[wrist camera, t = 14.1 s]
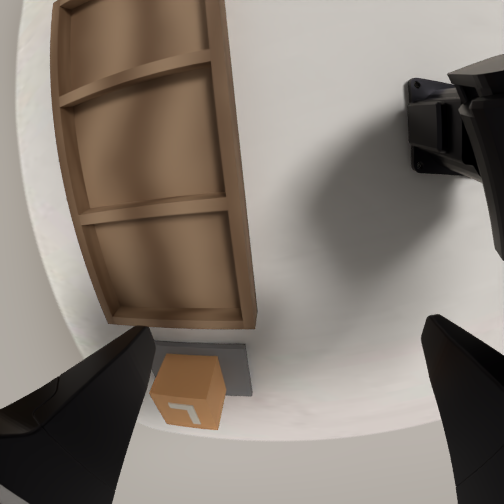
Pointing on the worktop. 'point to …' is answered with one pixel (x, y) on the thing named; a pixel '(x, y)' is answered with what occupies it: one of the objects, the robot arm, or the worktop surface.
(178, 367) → the letter cube
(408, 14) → the worktop surface
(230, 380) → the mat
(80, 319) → the worktop surface
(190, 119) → the organiser
